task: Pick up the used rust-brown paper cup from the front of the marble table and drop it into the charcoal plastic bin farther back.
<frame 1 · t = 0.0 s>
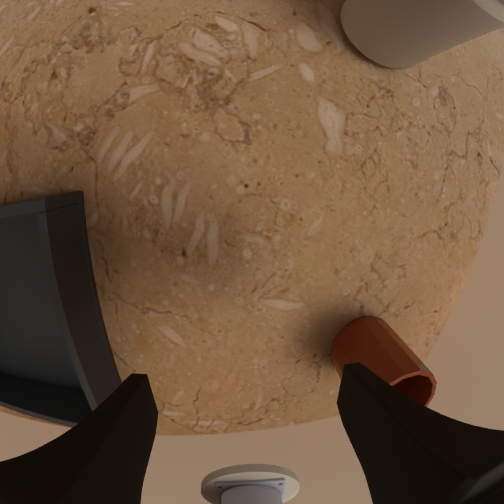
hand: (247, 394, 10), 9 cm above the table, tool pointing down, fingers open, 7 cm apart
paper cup: (361, 345, 21), on the table
beverage can: (377, 33, 15), on the table
bin: (20, 305, 18), on the table
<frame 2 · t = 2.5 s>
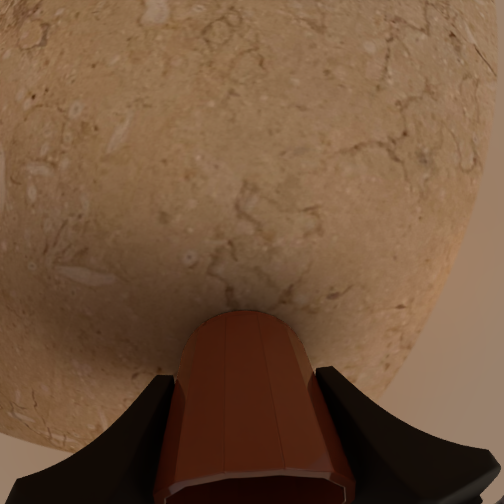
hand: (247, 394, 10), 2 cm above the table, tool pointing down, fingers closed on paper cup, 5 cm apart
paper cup: (243, 362, 12), on the table, touching gripper
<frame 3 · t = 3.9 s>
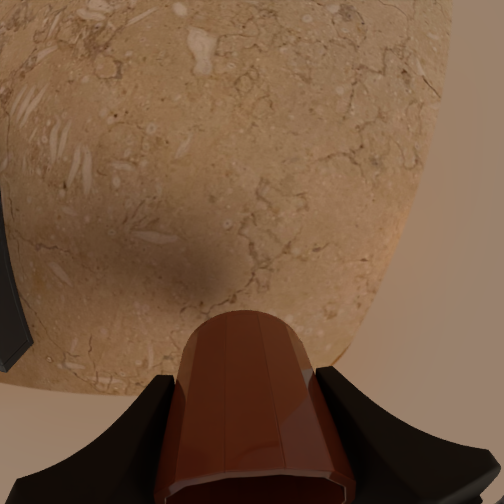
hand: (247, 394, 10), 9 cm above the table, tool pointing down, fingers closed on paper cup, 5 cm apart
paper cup: (243, 362, 12), point 7 cm above the table, touching gripper
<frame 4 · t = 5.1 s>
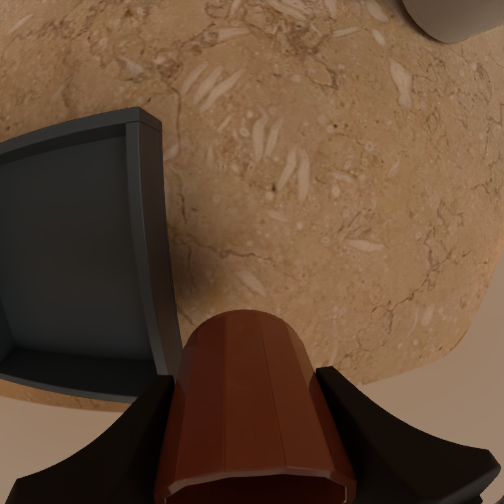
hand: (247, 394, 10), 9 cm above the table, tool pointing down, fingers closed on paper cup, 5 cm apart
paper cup: (243, 361, 12), point 7 cm above the table, touching gripper
beverage can: (427, 14, 14), on the table
bin: (61, 260, 17), on the table
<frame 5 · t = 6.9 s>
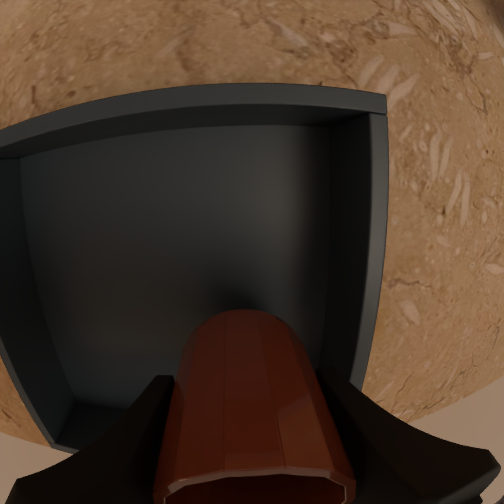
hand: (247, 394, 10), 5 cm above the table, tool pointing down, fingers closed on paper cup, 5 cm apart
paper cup: (243, 361, 12), point 3 cm above the table, touching gripper
bin: (167, 294, 14), on the table
when the fingers open (3 cm above the table, at t = 8.2 s): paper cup stays where it is, resting on bin.
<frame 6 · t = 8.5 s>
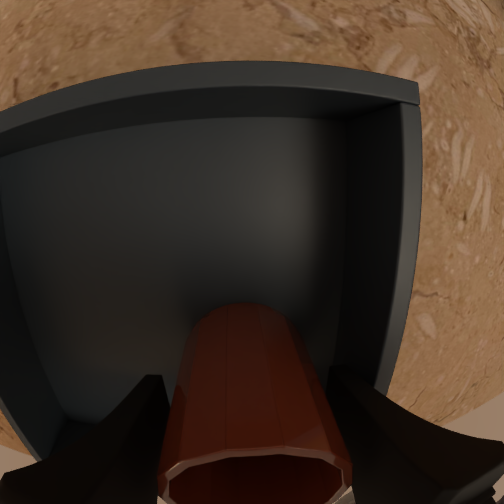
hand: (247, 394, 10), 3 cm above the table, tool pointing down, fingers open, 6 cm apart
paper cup: (244, 354, 12), point 1 cm above the table, touching bin
bin: (161, 310, 12), on the table
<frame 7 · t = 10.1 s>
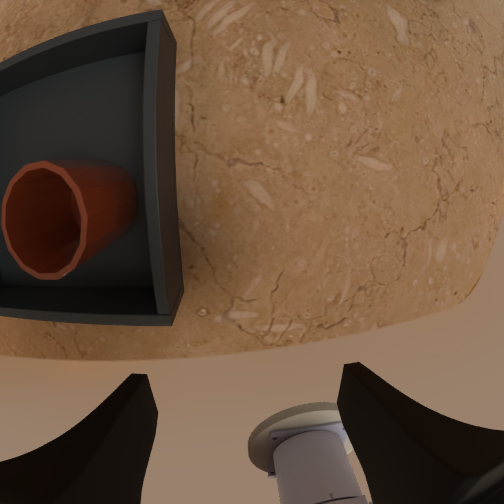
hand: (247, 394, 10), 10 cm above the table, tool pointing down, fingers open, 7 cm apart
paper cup: (102, 201, 16), point 1 cm above the table, touching bin
bin: (61, 177, 16), on the table
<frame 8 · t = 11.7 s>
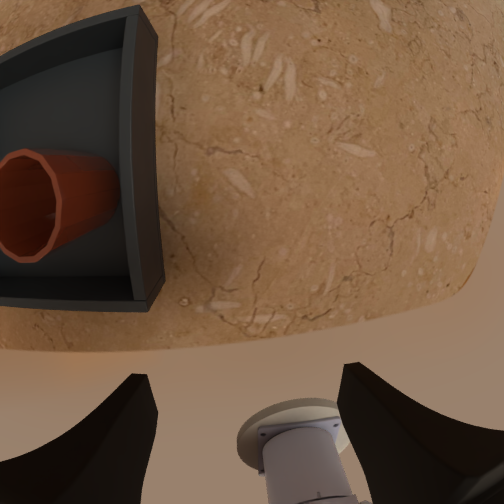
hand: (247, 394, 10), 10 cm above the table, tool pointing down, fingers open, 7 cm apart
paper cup: (86, 192, 16), point 1 cm above the table, touching bin
bin: (48, 170, 16), on the table
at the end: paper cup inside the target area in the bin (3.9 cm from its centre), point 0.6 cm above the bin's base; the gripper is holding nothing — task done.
